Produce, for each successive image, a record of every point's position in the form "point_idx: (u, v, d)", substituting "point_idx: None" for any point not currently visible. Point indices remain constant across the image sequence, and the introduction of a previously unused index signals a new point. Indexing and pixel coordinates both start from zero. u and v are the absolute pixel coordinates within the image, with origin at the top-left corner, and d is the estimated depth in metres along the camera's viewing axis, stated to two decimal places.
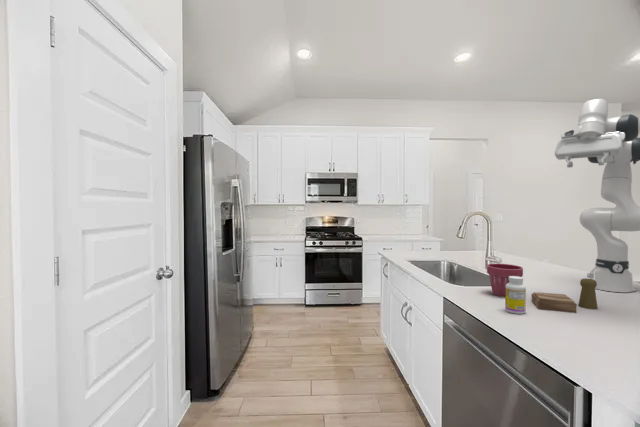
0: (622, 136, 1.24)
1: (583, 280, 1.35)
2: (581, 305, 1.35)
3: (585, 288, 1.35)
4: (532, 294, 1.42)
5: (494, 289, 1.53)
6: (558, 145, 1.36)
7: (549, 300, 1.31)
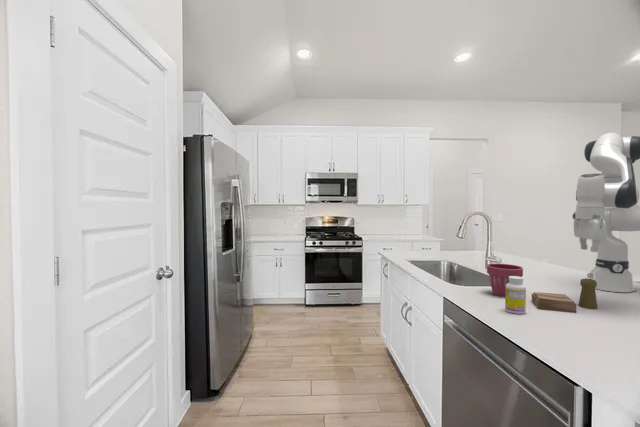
0: (599, 222, 1.26)
1: (583, 280, 1.35)
2: (581, 305, 1.35)
3: (585, 288, 1.35)
4: (532, 294, 1.42)
5: (494, 289, 1.53)
6: (574, 226, 1.44)
7: (549, 300, 1.31)
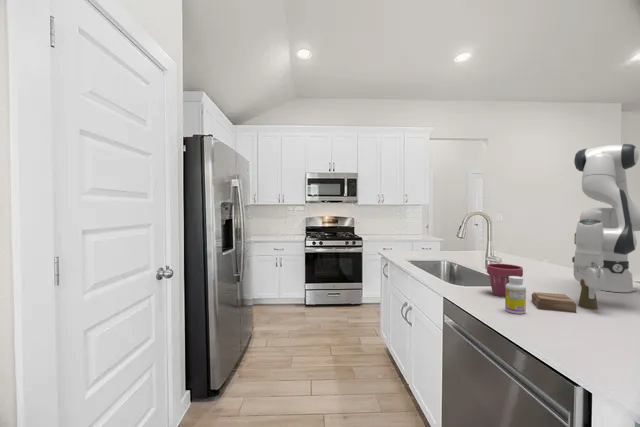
0: (597, 272, 1.27)
1: (583, 280, 1.35)
2: (581, 305, 1.35)
3: (585, 288, 1.35)
4: (532, 294, 1.42)
5: (494, 289, 1.53)
6: None
7: (549, 300, 1.31)
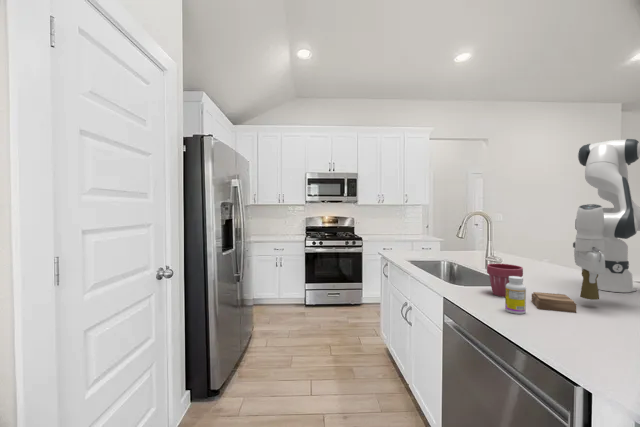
0: (598, 256, 1.27)
1: (585, 271, 1.35)
2: (583, 296, 1.36)
3: (587, 279, 1.35)
4: (532, 294, 1.42)
5: (494, 289, 1.53)
6: (574, 255, 1.45)
7: (549, 300, 1.31)
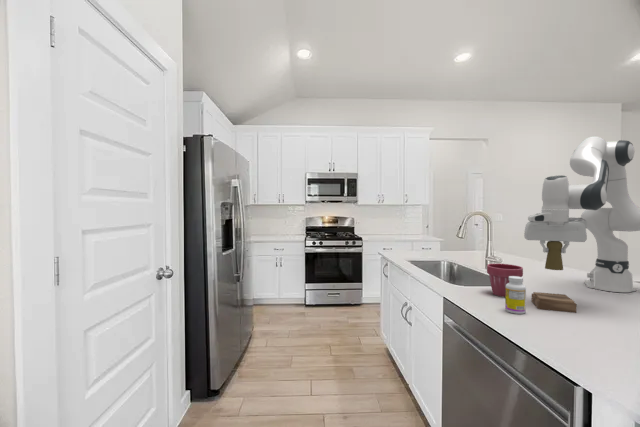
0: (585, 224, 1.31)
1: (558, 242, 1.33)
2: (560, 268, 1.33)
3: (560, 250, 1.33)
4: (532, 294, 1.42)
5: (494, 289, 1.53)
6: (529, 229, 1.36)
7: (549, 300, 1.31)
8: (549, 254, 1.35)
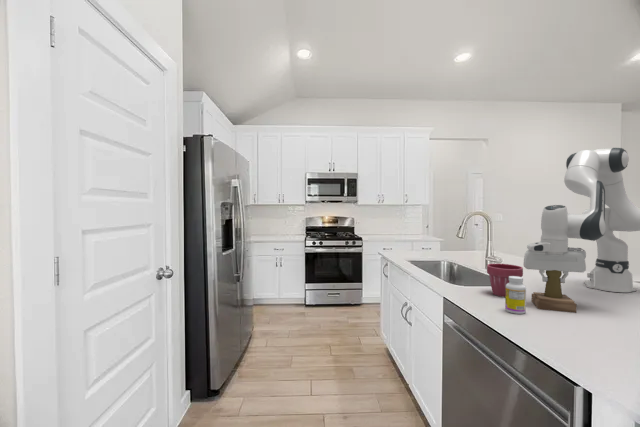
0: (584, 255, 1.31)
1: None
2: (559, 296, 1.33)
3: (559, 278, 1.34)
4: (532, 294, 1.42)
5: (494, 289, 1.53)
6: (528, 259, 1.36)
7: (549, 300, 1.31)
8: (548, 282, 1.35)
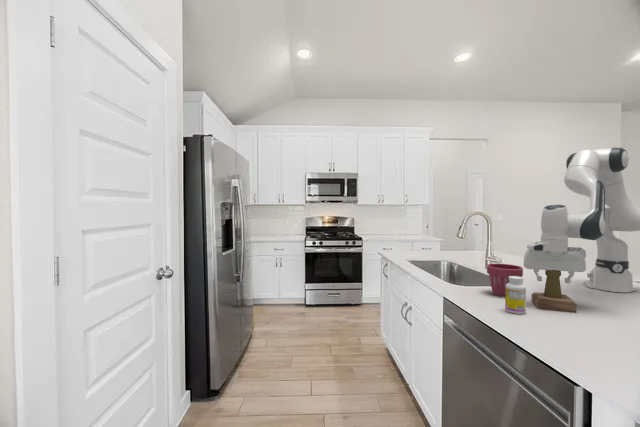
0: (584, 254, 1.32)
1: (557, 270, 1.33)
2: (558, 296, 1.33)
3: (558, 278, 1.34)
4: (532, 294, 1.42)
5: (494, 289, 1.53)
6: (528, 258, 1.36)
7: (549, 300, 1.31)
8: (548, 282, 1.35)
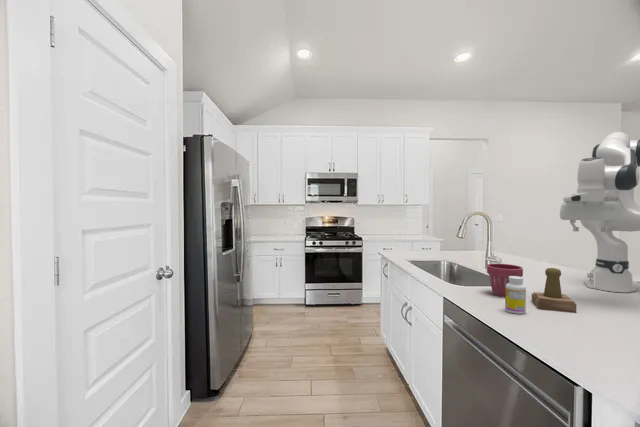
0: (620, 204, 1.36)
1: (557, 270, 1.33)
2: (558, 296, 1.33)
3: (558, 278, 1.34)
4: (532, 294, 1.42)
5: (494, 289, 1.53)
6: (565, 209, 1.41)
7: (549, 300, 1.31)
8: (548, 282, 1.35)
